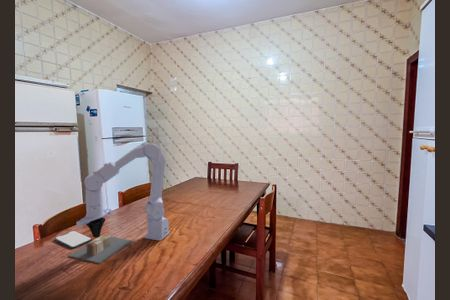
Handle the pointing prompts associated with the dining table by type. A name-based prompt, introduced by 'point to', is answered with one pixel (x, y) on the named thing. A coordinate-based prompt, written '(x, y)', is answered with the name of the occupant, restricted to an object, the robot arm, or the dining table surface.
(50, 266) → the dining table surface
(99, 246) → the maple block
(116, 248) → the rubber mat
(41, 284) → the dining table surface
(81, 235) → the phone case
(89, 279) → the dining table surface
